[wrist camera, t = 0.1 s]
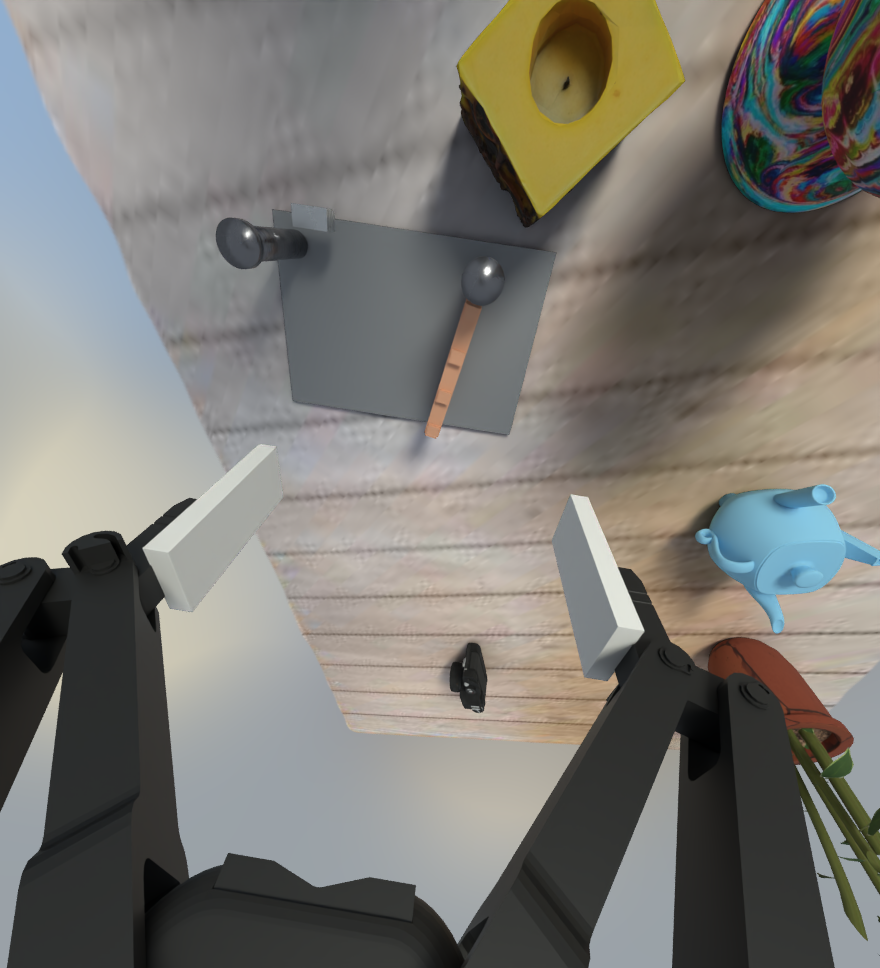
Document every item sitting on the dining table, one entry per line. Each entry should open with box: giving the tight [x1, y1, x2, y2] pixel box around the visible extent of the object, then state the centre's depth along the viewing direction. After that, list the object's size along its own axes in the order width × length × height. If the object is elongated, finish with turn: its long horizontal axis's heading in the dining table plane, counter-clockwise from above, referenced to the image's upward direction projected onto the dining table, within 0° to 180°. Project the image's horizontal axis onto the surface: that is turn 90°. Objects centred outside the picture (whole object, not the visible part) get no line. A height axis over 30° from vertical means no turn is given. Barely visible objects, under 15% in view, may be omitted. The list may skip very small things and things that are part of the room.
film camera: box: [450, 643, 487, 713], centre depth 70 cm, size 13×8×10 cm, turn 16°
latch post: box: [216, 203, 335, 269], centre depth 31 cm, size 5×6×11 cm
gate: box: [424, 298, 482, 439], centre depth 37 cm, size 13×2×6 cm, turn 163°
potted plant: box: [708, 637, 880, 941], centre depth 48 cm, size 17×16×35 cm
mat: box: [272, 209, 556, 435], centre depth 39 cm, size 19×27×1 cm
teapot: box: [695, 484, 880, 633], centre depth 43 cm, size 15×14×11 cm
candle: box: [456, 0, 685, 227], centre depth 26 cm, size 10×10×10 cm
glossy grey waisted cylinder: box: [461, 256, 505, 306], centre depth 31 cm, size 3×3×11 cm
